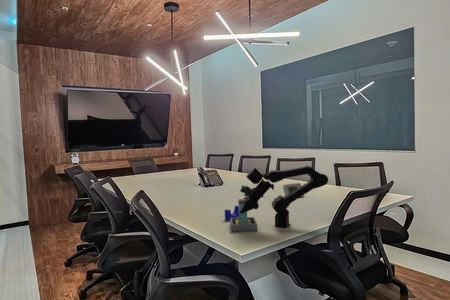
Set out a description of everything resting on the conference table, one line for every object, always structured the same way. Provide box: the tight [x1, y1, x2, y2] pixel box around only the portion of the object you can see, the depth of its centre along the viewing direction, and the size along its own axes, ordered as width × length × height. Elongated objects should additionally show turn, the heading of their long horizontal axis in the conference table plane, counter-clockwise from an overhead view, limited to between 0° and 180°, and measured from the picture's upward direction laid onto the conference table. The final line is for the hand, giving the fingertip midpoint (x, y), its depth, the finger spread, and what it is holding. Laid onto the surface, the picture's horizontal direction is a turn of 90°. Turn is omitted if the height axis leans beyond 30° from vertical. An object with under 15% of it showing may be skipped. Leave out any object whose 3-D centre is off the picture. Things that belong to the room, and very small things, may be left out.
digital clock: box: [282, 182, 305, 198], centre depth 223 cm, size 16×9×11 cm, turn 103°
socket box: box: [229, 216, 258, 233], centre depth 156 cm, size 13×13×4 cm
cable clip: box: [224, 205, 239, 221], centre depth 175 cm, size 12×4×6 cm, turn 144°
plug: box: [237, 198, 248, 224], centre depth 156 cm, size 4×4×13 cm
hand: (240, 212), depth 156 cm, fingers closed on plug, 4 cm apart
